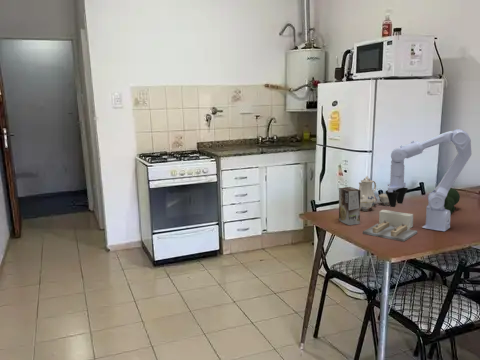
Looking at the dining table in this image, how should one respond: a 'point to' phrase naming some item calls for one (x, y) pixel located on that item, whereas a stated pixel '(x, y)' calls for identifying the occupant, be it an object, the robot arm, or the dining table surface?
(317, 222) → the dining table surface
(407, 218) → the clay bar
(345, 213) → the coffee box
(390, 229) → the grey peg board
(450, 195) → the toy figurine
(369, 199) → the chinaware
